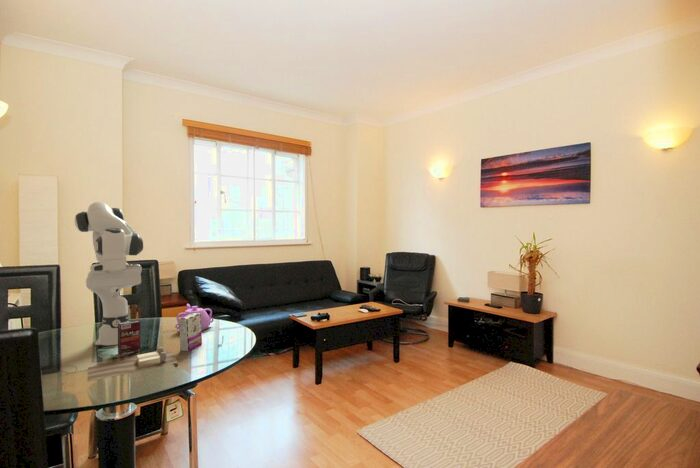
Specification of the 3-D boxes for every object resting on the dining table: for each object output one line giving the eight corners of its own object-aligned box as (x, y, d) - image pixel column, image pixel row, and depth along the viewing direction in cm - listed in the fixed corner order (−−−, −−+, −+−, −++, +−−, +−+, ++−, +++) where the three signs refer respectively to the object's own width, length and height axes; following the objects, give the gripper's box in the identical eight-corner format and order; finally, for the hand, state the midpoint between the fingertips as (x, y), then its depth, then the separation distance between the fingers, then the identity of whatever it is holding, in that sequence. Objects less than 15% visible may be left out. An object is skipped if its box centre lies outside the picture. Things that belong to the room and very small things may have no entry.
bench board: (88, 370, 155) (87, 358, 154) (170, 354, 173) (170, 342, 173) (87, 385, 140) (87, 371, 140) (177, 365, 158) (177, 353, 158)
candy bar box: (193, 343, 188) (192, 312, 188) (202, 344, 187) (201, 312, 187) (179, 351, 177) (178, 318, 177) (188, 351, 176) (187, 318, 176)
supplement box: (120, 359, 168) (119, 325, 168) (117, 356, 171) (116, 323, 171) (141, 354, 174) (140, 321, 174) (138, 351, 178) (137, 319, 177)
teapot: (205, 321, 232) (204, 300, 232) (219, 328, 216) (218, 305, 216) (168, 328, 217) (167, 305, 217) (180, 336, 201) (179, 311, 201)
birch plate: (137, 360, 162) (137, 355, 161) (157, 356, 166) (157, 351, 166) (139, 367, 153) (139, 361, 153) (160, 363, 158) (160, 357, 158)
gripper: (140, 262, 167) (141, 292, 168) (86, 265, 155) (86, 297, 156) (142, 264, 162) (142, 295, 163) (86, 267, 150) (86, 300, 151)
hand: (114, 296), depth 159 cm, fingers closed
